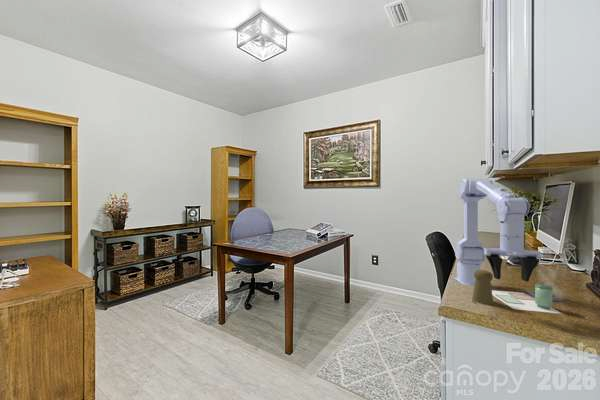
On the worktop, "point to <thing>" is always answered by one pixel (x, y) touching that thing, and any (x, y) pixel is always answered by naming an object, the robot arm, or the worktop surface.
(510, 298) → the picture card
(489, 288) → the olive brown cylinder
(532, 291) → the button pad
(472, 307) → the worktop surface
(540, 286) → the green cylinder
